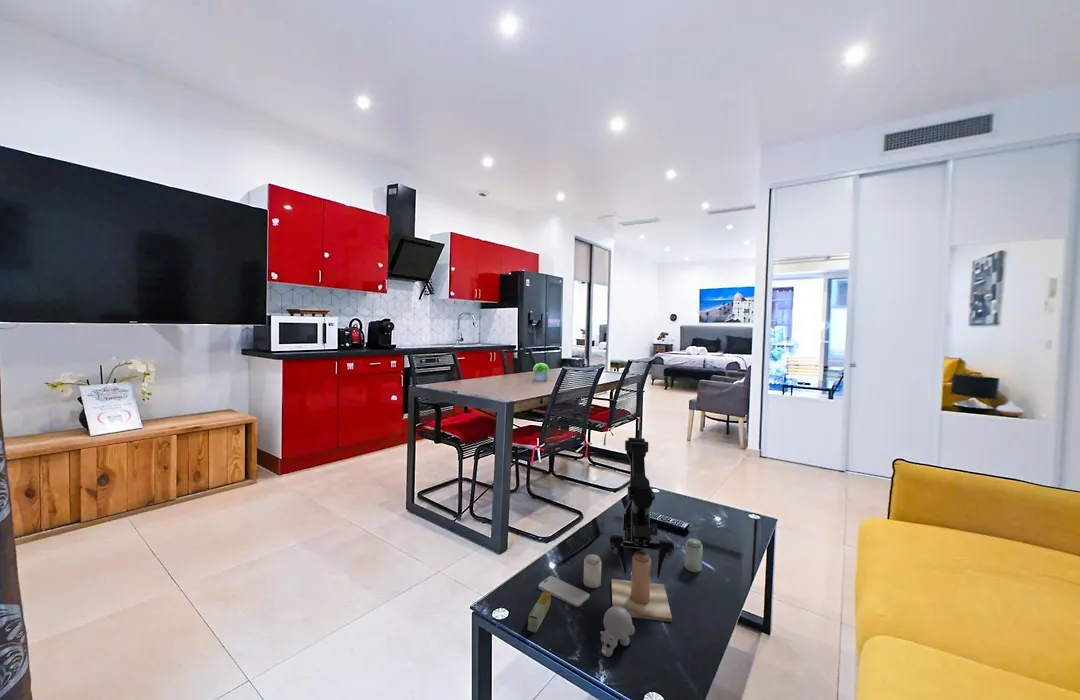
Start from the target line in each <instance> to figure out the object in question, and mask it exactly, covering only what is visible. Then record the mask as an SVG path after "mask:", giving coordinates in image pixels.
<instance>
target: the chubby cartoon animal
mask: <svg viewBox="0 0 1080 700" xmlns="http://www.w3.org/2000/svg"><path fill="white" fill-rule="evenodd" d="M603 627H604V631H599V633H600V642H601V646H602V647H601V653H602V655H603V656H605V657H606V658H608V657H609V658H610V657H611V656H612V655H613V654H614V651H615V648H616V647H617V646H618V643H620V644H621V646H622V647H627V646H629V645H630V643H631V640H630V636H633V635H634V634H635V632H636V628H635V626H634V624H633V620H632V617H631V616H630V614H629V613H628V611H627V610H626V609H625V608H622V607H620V606H613V607H612V606H611V607H609V608H608V609H607V610H606V611H605V613H604V615H603Z"/></svg>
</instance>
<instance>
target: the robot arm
mask: <svg viewBox="0 0 1080 700" xmlns="http://www.w3.org/2000/svg"><path fill="white" fill-rule="evenodd" d="M624 451H626V456H627V458H628V460H629V461H630V465H629V466H630V468H629V469H630V471H629V472H630V473H629V474H630V475H629V476H630V477H629V479H630V480H629V485H628V486H627V500H629V502H628V504H627V505H626V507H625V510H624V511H625V513H623V515H622V529H623V531H624V536H623V535H619V534H618V535H617V534H616V535H615V534H610V536H609V543H608V545H609V547H608V549H609V550H610V551H613V554H616V555H617V558H618V559H619V561H620V566H621V568H622V571H623V574H624V575H625V576H626V575H627V567H626V566H627V565H626V564H627V563H626V558H625V557H626V556H625V548H629V549H631V550H633V551H635V552H637V551H640V550H648V551H649V550H650V551H651V550H652V551H658V554H657V561H656V562H657V563H656V579H659V578H660V575H661V570H662V566H663V562H664V560H666V559H667V560H668V558H669V557H672V556H674V555H673V554H674V552H675V544H674V542H673V541H672V540H668V539H667V540H666V539H659V540H658V541H659V542H658V543H655V542H651V541H652V536H655V537H656V536H658V524H657V523H650V522H651V521H650V518H651V517H650V512H651V510H652V506H653V502H654V500H655V497H656V496H655V493H654V491H653V488H652V487H651V485H650V480H649V479H648V477H647V476H646V466H645V465H646V464H645V457H646V456H647V453H649V441H646V439H645V438H644V437H628V438H627V440H624Z"/></svg>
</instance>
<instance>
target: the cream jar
mask: <svg viewBox="0 0 1080 700" xmlns="http://www.w3.org/2000/svg"><path fill="white" fill-rule="evenodd" d="M601 581H602V559H601V557H600V556H599V555H597V554H593V553H589V554H587V555H586V556H585V558H584V559H583V581H582V582H583V585H584V586H586V587H587V588H589V589H595V588H599V587H600V586H601V584H602V582H601Z"/></svg>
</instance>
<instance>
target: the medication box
mask: <svg viewBox="0 0 1080 700" xmlns="http://www.w3.org/2000/svg"><path fill="white" fill-rule="evenodd" d="M551 601H552V595H551V594H549V593H546V592H544V591H542V592H541V595H540V596H539V598H538V600H537V601H536V603H535V605H534V606H533V608H532V610H531V611H530V613H529V615H528V617H527V619H528V620H527V627H526V628H527V631H529V632H531V633H537V631H538V629H539V627H540V626H541V624H542V622H543V620H544V619H545V616H546V615H547V613H548V612H549V609H550V607H551V603H552V602H551Z"/></svg>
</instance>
